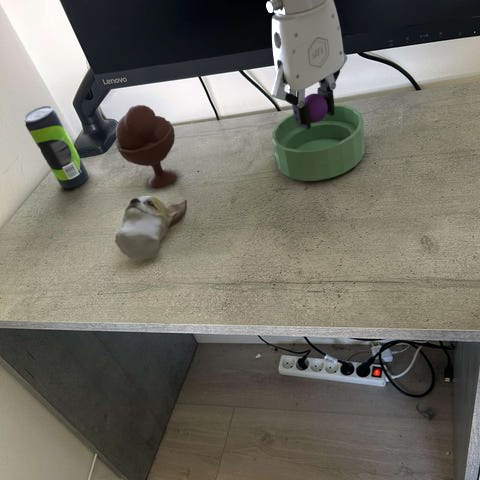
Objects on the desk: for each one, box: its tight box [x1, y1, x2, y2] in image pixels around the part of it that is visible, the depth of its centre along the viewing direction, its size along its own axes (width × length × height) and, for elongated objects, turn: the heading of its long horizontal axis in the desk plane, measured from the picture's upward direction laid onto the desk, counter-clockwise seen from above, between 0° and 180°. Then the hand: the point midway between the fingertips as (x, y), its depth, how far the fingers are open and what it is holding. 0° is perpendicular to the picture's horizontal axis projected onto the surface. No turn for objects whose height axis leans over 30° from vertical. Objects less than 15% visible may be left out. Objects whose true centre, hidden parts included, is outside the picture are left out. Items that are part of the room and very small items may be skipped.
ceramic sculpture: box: [114, 195, 188, 262], centre depth 79 cm, size 11×9×15 cm
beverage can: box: [23, 105, 89, 189], centre depth 97 cm, size 6×6×15 cm
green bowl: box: [271, 103, 366, 182], centre depth 84 cm, size 15×15×6 cm
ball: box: [305, 93, 328, 123], centre depth 80 cm, size 4×4×4 cm
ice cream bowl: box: [114, 104, 177, 190], centre depth 89 cm, size 11×11×15 cm
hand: (315, 119), depth 81 cm, fingers closed on ball, 4 cm apart
